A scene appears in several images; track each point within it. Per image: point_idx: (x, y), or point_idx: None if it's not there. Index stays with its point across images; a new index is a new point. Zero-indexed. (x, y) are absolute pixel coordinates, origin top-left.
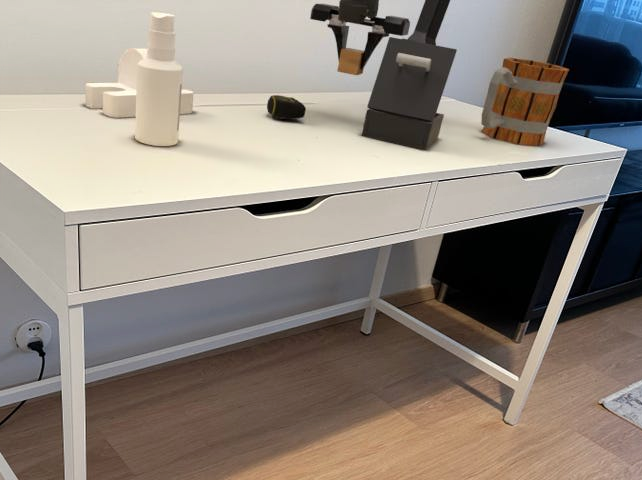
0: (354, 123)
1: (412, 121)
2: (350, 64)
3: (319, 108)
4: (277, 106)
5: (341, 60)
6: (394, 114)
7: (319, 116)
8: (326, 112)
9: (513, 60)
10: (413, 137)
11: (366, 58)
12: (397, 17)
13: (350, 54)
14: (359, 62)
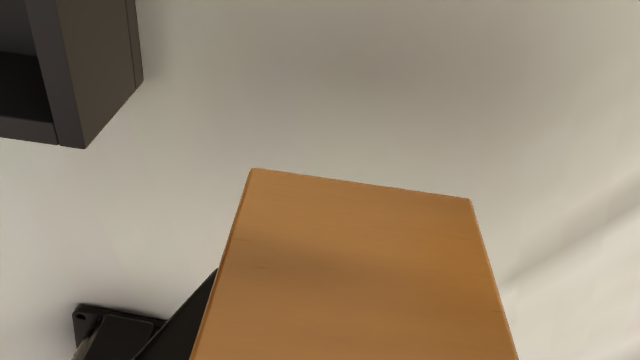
0: (260, 22)
1: None
2: (340, 246)
3: (480, 217)
4: None
5: (468, 280)
6: (14, 84)
7: (479, 29)
8: (441, 162)
9: None
10: None
11: (143, 349)
12: None
13: (364, 345)
14: (221, 264)
